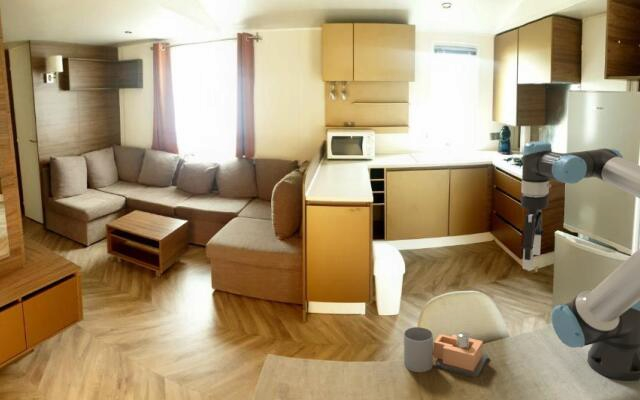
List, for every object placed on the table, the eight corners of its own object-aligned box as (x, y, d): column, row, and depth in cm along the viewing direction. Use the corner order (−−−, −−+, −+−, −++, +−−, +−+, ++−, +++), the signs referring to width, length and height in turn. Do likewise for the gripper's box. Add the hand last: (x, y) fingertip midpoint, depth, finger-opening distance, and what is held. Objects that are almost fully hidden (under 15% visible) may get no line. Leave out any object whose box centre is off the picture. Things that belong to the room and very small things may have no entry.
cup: (431, 357, 163) (431, 327, 161) (434, 372, 155) (434, 341, 153) (403, 356, 164) (403, 327, 162) (404, 371, 156) (404, 340, 154)
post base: (488, 357, 161) (489, 330, 159) (476, 378, 152) (477, 349, 149) (449, 348, 168) (450, 322, 165) (435, 366, 158) (435, 339, 156)
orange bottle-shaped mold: (482, 356, 160) (482, 341, 159) (473, 371, 153) (473, 355, 152) (442, 346, 167) (442, 331, 166) (431, 359, 160) (431, 344, 159)
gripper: (541, 205, 147) (537, 277, 152) (554, 186, 167) (550, 250, 173) (513, 203, 150) (510, 273, 156) (529, 184, 171) (526, 247, 176)
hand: (531, 261), depth 164 cm, fingers open, 13 cm apart
